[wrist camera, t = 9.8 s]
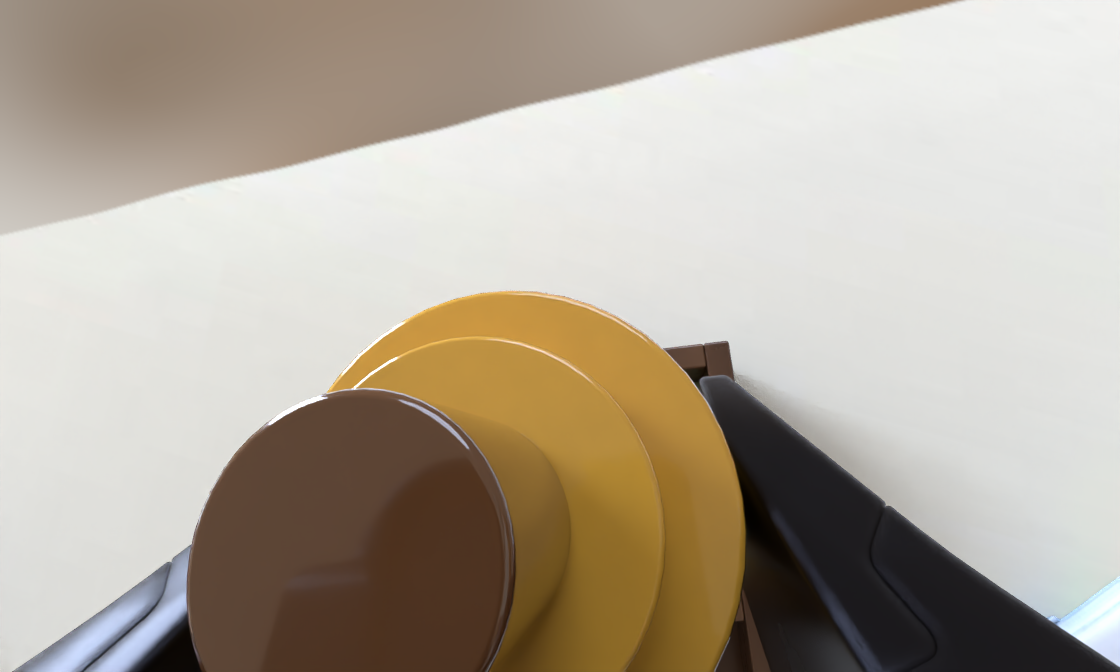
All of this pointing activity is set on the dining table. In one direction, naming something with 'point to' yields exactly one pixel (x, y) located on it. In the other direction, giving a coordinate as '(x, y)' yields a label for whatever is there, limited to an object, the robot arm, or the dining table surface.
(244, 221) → the dining table surface
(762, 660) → the brown divided tray
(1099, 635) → the folded bicycle print cloth
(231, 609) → the bottle
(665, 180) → the dining table surface
